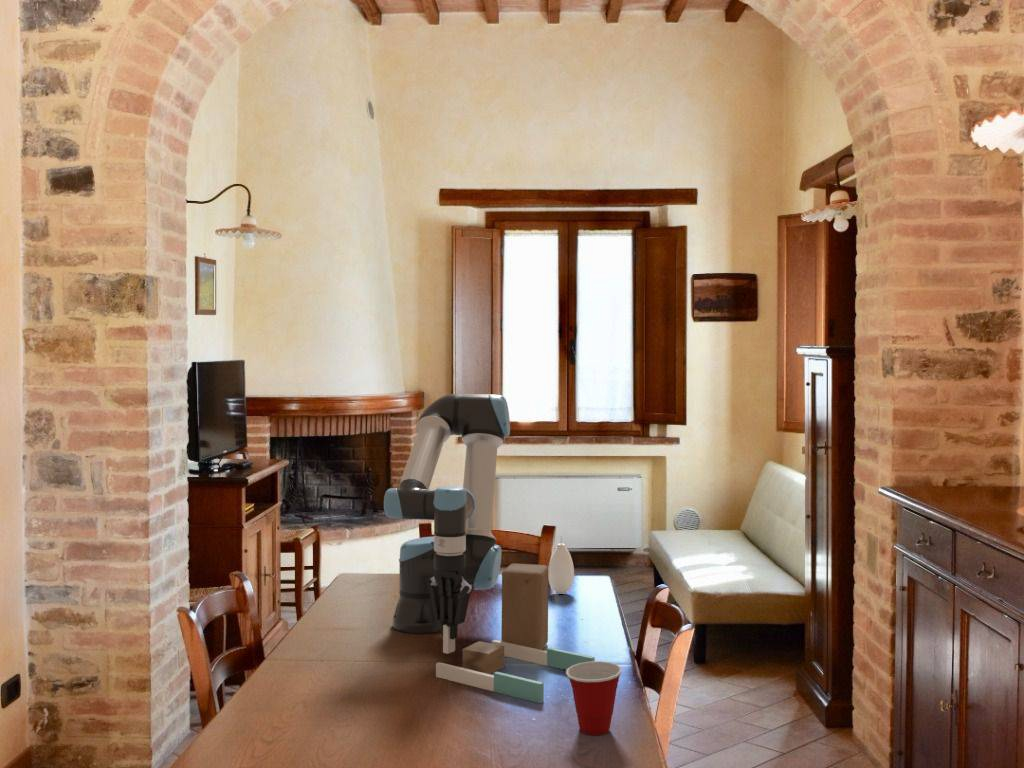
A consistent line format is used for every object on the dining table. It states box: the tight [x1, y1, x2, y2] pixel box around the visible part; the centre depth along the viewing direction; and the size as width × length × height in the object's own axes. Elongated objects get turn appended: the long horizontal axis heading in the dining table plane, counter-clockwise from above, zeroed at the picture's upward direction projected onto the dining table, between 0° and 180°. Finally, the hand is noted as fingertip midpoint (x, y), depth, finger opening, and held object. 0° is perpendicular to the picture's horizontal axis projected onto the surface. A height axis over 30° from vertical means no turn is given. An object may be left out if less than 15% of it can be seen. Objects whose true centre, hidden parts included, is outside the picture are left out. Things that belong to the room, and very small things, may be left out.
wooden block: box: [500, 562, 549, 650], centre depth 237 cm, size 10×10×20 cm
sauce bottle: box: [548, 535, 575, 595], centre depth 291 cm, size 8×8×18 cm
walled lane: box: [435, 639, 596, 704], centre depth 217 cm, size 28×22×4 cm
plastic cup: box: [565, 660, 623, 736], centre depth 186 cm, size 11×11×12 cm
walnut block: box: [462, 641, 505, 675], centre depth 222 cm, size 7×7×5 cm
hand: (449, 651), depth 228 cm, fingers closed
